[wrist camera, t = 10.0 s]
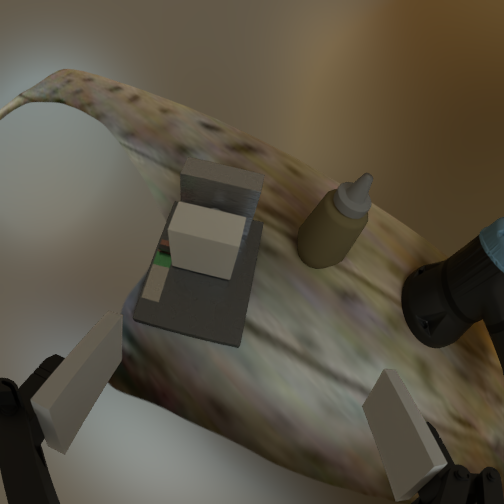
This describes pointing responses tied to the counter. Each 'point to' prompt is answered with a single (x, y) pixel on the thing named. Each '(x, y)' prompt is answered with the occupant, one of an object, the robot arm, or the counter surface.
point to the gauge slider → (204, 239)
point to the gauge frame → (198, 284)
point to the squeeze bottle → (335, 224)
